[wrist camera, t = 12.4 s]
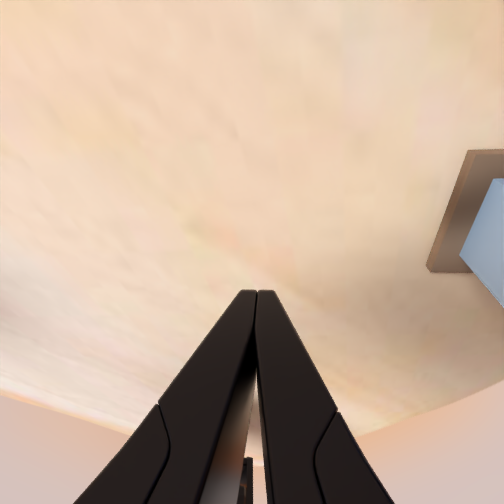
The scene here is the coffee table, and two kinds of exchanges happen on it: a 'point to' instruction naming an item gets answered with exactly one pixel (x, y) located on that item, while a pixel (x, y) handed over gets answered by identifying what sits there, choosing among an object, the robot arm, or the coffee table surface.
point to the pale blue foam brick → (488, 242)
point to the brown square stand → (464, 209)
